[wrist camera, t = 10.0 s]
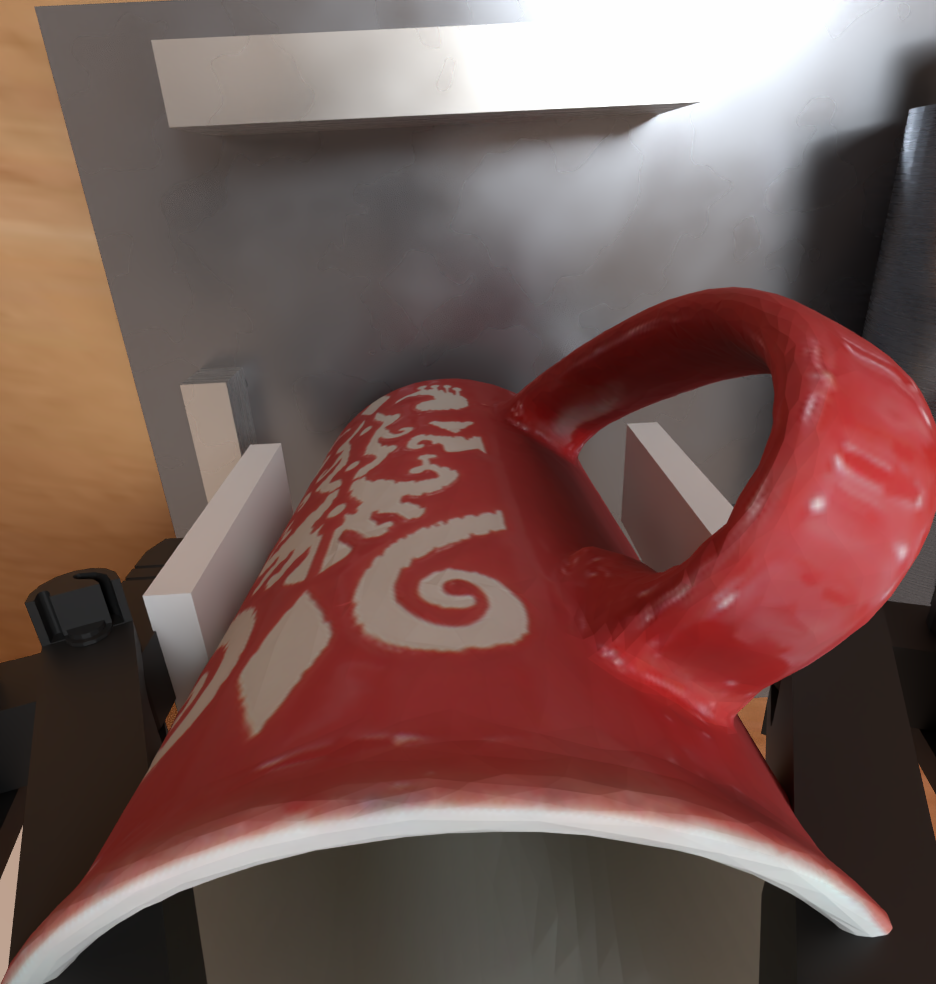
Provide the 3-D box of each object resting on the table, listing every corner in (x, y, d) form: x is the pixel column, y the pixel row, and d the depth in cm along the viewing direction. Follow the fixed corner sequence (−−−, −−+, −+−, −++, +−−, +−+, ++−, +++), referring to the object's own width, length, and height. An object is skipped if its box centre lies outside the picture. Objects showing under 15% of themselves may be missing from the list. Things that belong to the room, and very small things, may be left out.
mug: (491, 679, 21) (556, 1340, 9) (232, 547, 19) (-143, 1207, 7) (770, 356, 17) (1579, 797, 5) (482, 133, 15) (679, -82, 3)
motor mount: (235, 711, 25) (146, 941, 18) (57, 16, 16) (-297, -135, 8) (905, 669, 26) (1103, 877, 18) (1116, -32, 16) (1716, -219, 9)
